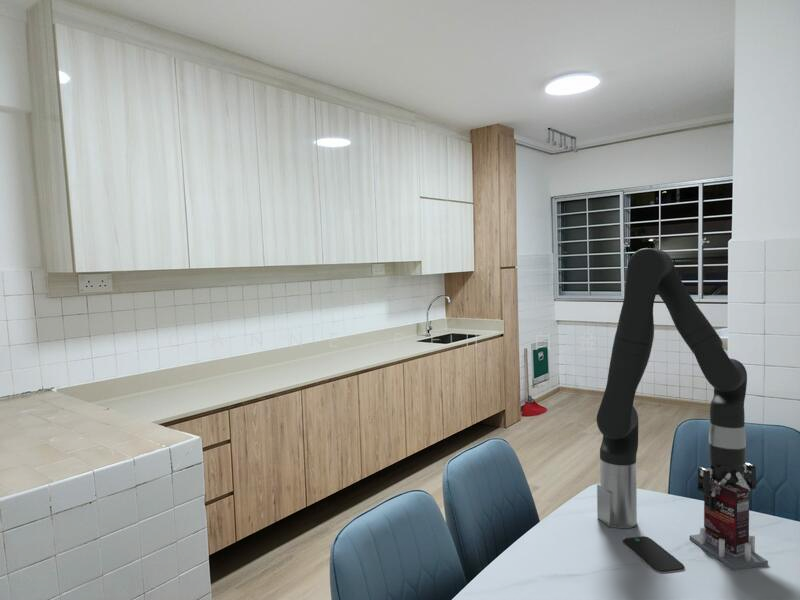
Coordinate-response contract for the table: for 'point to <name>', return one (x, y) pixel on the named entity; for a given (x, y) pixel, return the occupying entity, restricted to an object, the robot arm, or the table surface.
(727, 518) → the supplement box
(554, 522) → the table surface
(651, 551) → the smartphone
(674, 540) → the table surface
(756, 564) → the grey peg holder
